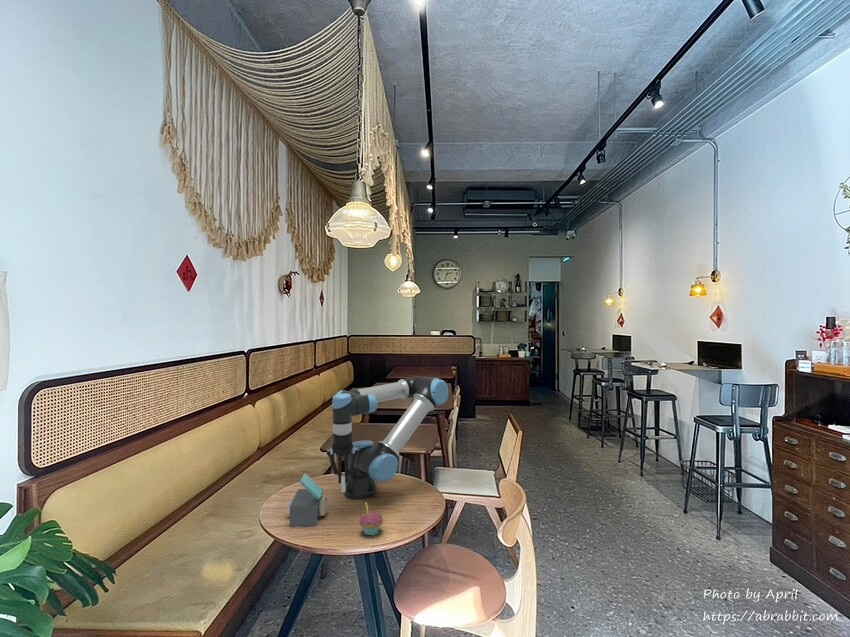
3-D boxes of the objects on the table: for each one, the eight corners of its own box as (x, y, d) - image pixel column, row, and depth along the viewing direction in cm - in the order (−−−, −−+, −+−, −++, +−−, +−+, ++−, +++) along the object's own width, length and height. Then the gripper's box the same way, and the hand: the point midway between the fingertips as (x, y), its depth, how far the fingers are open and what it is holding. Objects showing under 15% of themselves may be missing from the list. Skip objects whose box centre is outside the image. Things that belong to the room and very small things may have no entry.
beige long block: (326, 508, 175) (326, 494, 175) (324, 515, 169) (324, 500, 169) (290, 510, 173) (289, 495, 173) (286, 517, 167) (286, 501, 167)
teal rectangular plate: (321, 491, 175) (322, 489, 175) (318, 500, 167) (319, 498, 167) (303, 474, 175) (305, 473, 175) (299, 482, 167) (301, 480, 167)
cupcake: (361, 540, 153) (361, 506, 153) (358, 528, 161) (357, 497, 161) (384, 536, 156) (384, 504, 155) (380, 525, 164) (380, 494, 164)
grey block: (322, 507, 179) (322, 488, 179) (316, 525, 163) (316, 505, 163) (298, 508, 178) (298, 488, 178) (289, 527, 163) (289, 506, 162)
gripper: (359, 429, 176) (360, 486, 177) (327, 430, 175) (328, 487, 176) (358, 434, 169) (359, 493, 169) (324, 436, 168) (325, 495, 168)
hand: (343, 490), depth 173 cm, fingers closed
